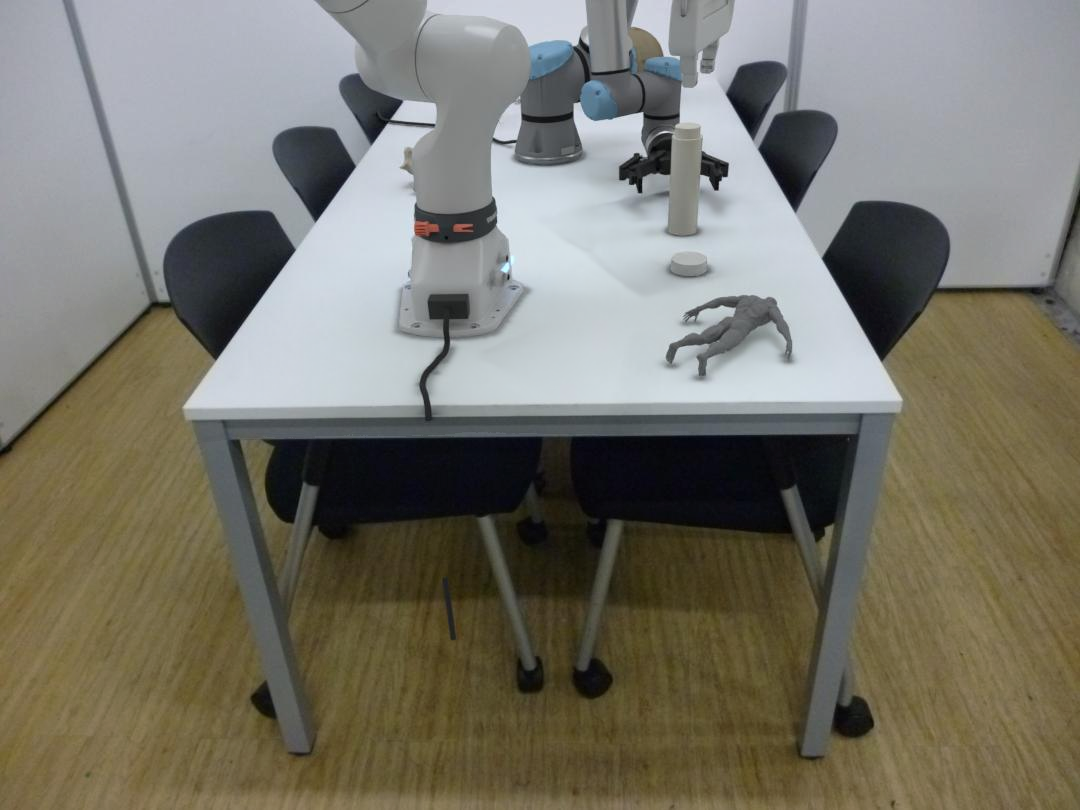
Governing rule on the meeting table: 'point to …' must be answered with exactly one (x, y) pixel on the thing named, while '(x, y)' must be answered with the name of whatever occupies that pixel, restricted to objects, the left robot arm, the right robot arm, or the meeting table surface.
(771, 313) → the figurine
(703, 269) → the lid
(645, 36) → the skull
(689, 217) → the jar
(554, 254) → the meeting table surface
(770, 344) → the meeting table surface
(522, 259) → the meeting table surface
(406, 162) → the bone
